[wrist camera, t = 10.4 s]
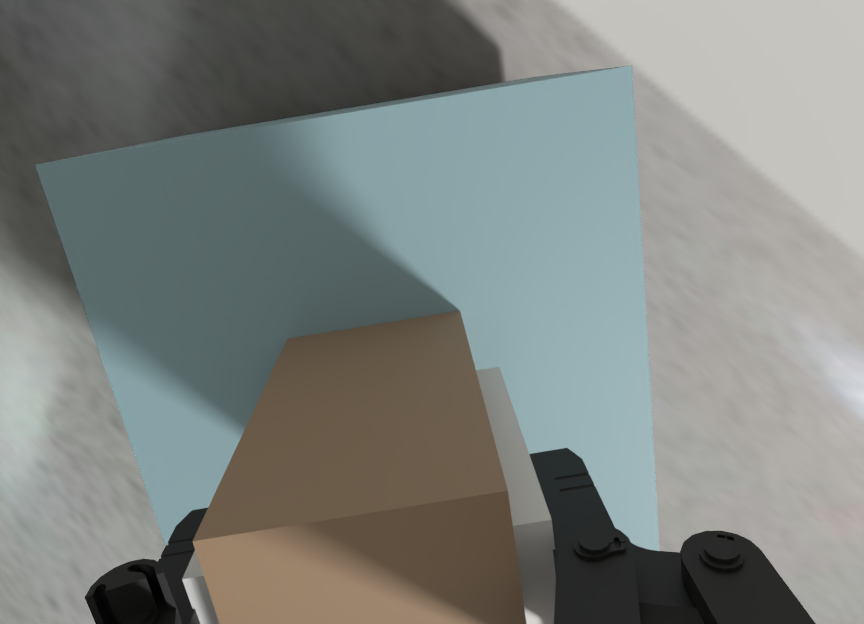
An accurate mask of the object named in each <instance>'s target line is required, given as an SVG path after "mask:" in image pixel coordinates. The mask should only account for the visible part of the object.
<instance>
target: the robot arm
mask: <svg viewBox="0 0 864 624" xmlns="http://www.w3.org/2000/svg"><path fill="white" fill-rule="evenodd" d="M476 373H477V376H478V380H479V384H480V388H481V391H482V395H483V399H484V403H485V407H486V410H487V414H488V418H489V422H490V425H491V429H492V433H493V437H494V440H495V444H496V448H497V452H498V456H499V459H500V463H501V467H502V471H503V474H504V478H505V482H506V486H507V490H508V496H509V503H510V510H511V517H512V524H513V531H514V538H515V546H516V553H517V560H518V567H519V574H520V581H521V588H522V596H523V603H524V610H525V617H526V624H815V622H814V621H813V620H812V618H811V617H810V616H809V614H808V613H807V612H806V610H805V609H804V608H803V606H802V605H801V604H800V602H799V601H798V599H797V598H796V597H795V595H794V594H793V593H792V591H791V590H790V589H789V587H788V586H787V585H786V583H785V582H784V581H783V579H782V578H781V577H780V575H779V574H778V573H777V571H776V570H775V568H774V567H773V566H772V564H771V563H770V562H769V560H768V559H767V558H766V556H765V555H764V554H763V552H762V551H761V550H760V549H759V548H758V547H757V546H756V545H755V544H754V543H752V542H751V541H750V540H748V539H746V538H744V537H742V536H739V535H737V534H733V533H729V532H724V531H704V532H701V533H698V534H695V535H692V536H691V537H690V538H688V539H687V540H686V541H685V542H684V543H683V546H682V548H681V551H680V553H677V552H664V551H655V550H649V549H645V548H642V547H639V546H636V545H634V544H632V543H631V542H630V539H629V538H628V537H627V536H626V535H625V534H624V533H623V532H621V531H620V530H618V529H616V528H615V526H614V524H613V522H612V520H611V518H610V516H609V514H608V512H607V510H606V508H605V506H604V504H603V501H602V499H601V497H600V495H599V493H598V491H597V489H596V487H595V486H594V483H593V481H592V478H591V476H590V475H589V472H588V470H587V468H586V466H585V464H584V462H583V460H582V458H581V457H579V456H578V455H576V454H575V453H574V452H572V451H571V450H569V449H568V448H563V449H556V450H550V451H544V452H538V453H532V454H529V452H528V449H527V446H526V443H525V440H524V437H523V435H522V432H521V429H520V426H519V423H518V420H517V417H516V414H515V411H514V408H513V405H512V403H511V400H510V397H509V394H508V391H507V388H506V385H505V382H504V379H503V376H502V373H501V370H500V368H499V367H494V368H488V369H482V370H476ZM207 509H208V508H202V509H196V510H192V511H191V512H190V513H189V514H188V515H187V516H186V517H185V518H184V519H183V520H182V521H181V522H180V523H179V524H177V525H176V527H175V529H174V531H173V533H172V535H171V537H170V539H169V541H168V545H166V547H165V549H164V551H163V553H162V555H161V559H159V561H158V562H157V561H155V560H149V559H141V560H135V561H130V562H127V563H125V564H123V565H120V566H118V567H116V568H114V569H112V570H111V571H109V572H108V573H106V574H104V575H103V576H101V577H100V578H99V579H98V580H97V581H96V582H95V583H94V584H93V585H92V586H91V587H90V589H89V591H88V593H87V595H86V596H85V599H86V601H87V604H88V606H89V609H90V611H91V613H92V616H93V618H94V620H95V623H96V624H219V621H218V618H217V615H216V612H215V609H214V606H213V603H212V600H211V597H210V593H209V590H208V587H207V584H206V581H205V578H204V575H203V572H202V569H201V566H200V563H199V560H198V557H197V554H196V551H195V548H194V545H193V542H192V541H193V539H194V537H195V535H196V533H197V530H198V528H199V526H200V524H201V522H202V520H203V518H204V516H205V513H206V511H207Z"/></svg>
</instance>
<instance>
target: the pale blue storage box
mask: <svg viewBox="0 0 864 624" xmlns="http://www.w3.org/2000/svg"><path fill="white" fill-rule="evenodd" d="M35 167H36V169H37V172H38V175H39V178H40V181H41V184H42V187H43V190H44V193H45V196H46V199H47V201H48V204H49V207H50V210H51V213H52V216H53V219H54V222H55V225H56V228H57V231H58V233H59V236H60V239H61V242H62V245H63V248H64V251H65V254H66V257H67V260H68V263H69V266H70V268H71V271H72V274H73V277H74V280H75V283H76V286H77V289H78V292H79V295H80V298H81V300H82V303H83V306H84V309H85V312H86V315H87V318H88V321H89V324H90V327H91V330H92V333H93V335H94V338H95V341H96V344H97V347H98V350H99V353H100V356H101V359H102V362H103V365H104V367H105V370H106V373H107V376H108V379H109V382H110V385H111V388H112V391H113V394H114V397H115V399H116V402H117V405H118V408H119V411H120V414H121V417H122V420H123V423H124V426H125V429H126V432H127V434H128V437H129V440H130V443H131V446H132V449H133V452H134V455H135V458H136V461H137V464H138V466H139V469H140V472H141V475H142V478H143V481H144V484H145V487H146V490H147V493H148V496H149V498H150V501H151V504H152V507H153V510H154V513H155V516H156V519H157V522H158V525H159V528H160V531H161V533H162V536H163V539H164V542H165V545H168V541H169V539H170V537H171V535H172V533H173V531H174V529H175V527H176V525H177V524H179V523H180V522H181V521H182V520H183V519H184V518H185V517H186V516H187V515H188V514H189V513H190V512H191V511H192V510H196V509H202V508H208V509H207V511H206V513H205V516H204V518H203V520H202V522H201V524H200V526H199V528H198V530H197V533H196V535H195V537H194V539H193V541H192V542H193V545H194V548H195V551H196V554H197V557H198V560H199V563H200V566H201V569H202V572H203V575H204V578H205V581H206V584H207V587H208V590H209V593H210V597H211V600H212V603H213V606H214V609H215V612H216V615H217V618H218V621H219V624H526V617H525V610H524V603H523V596H522V588H521V581H520V574H519V567H518V560H517V553H516V546H515V538H514V531H513V524H512V517H511V510H510V503H509V496H508V490H507V486H506V482H505V478H504V474H503V471H502V467H501V463H500V459H499V456H498V452H497V448H496V444H495V440H494V437H493V433H492V429H491V425H490V422H489V418H488V414H487V410H486V407H485V403H484V399H483V395H482V391H481V388H480V384H479V380H478V376H477V373H476V370H482V369H488V368H494V367H499V368H500V370H501V373H502V376H503V379H504V382H505V385H506V388H507V391H508V394H509V397H510V400H511V403H512V405H513V408H514V411H515V414H516V417H517V420H518V423H519V426H520V429H521V432H522V435H523V437H524V440H525V443H526V446H527V449H528V452H529V454H532V453H538V452H544V451H550V450H556V449H563V448H568V449H569V450H571V451H572V452H574V453H575V454H576V455H578V456H579V457H581V458H582V460H583V462H584V464H585V466H586V468H587V470H588V472H589V475H590V476H591V478H592V481H593V483H594V486H595V487H596V489H597V491H598V493H599V495H600V497H601V499H602V501H603V504H604V506H605V508H606V510H607V512H608V514H609V516H610V518H611V520H612V522H613V524H614V526H615V528H616V529H618V530H620V531H621V532H623V533H624V534H625V535H626V536H627V537H628V538H629V539H630V542H631V543H632V544H634V545H636V546H639V547H642V548H645V549H649V550H655V551H660V549H659V532H658V514H657V497H656V479H655V461H654V444H653V426H652V408H651V391H650V373H649V355H648V338H647V320H646V302H645V285H644V267H643V249H642V232H641V214H640V196H639V179H638V161H637V143H636V126H635V108H634V90H633V73H632V66H623V67H615V68H607V69H598V70H590V71H581V72H573V73H564V74H556V75H547V76H539V77H532V78H526V79H520V80H514V81H508V82H502V83H496V84H490V85H484V86H478V87H472V88H466V89H460V90H454V91H448V92H442V93H436V94H430V95H424V96H418V97H412V98H406V99H400V100H394V101H387V102H381V103H375V104H369V105H363V106H357V107H351V108H345V109H339V110H333V111H327V112H321V113H315V114H309V115H303V116H297V117H291V118H285V119H279V120H273V121H267V122H261V123H255V124H249V125H243V126H237V127H231V128H225V129H219V130H213V131H207V132H201V133H195V134H189V135H183V136H178V137H173V138H168V139H163V140H158V141H153V142H148V143H143V144H137V145H132V146H127V147H122V148H117V149H112V150H107V151H102V152H97V153H92V154H86V155H81V156H76V157H71V158H66V159H61V160H56V161H51V162H46V163H41V164H35Z"/></svg>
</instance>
